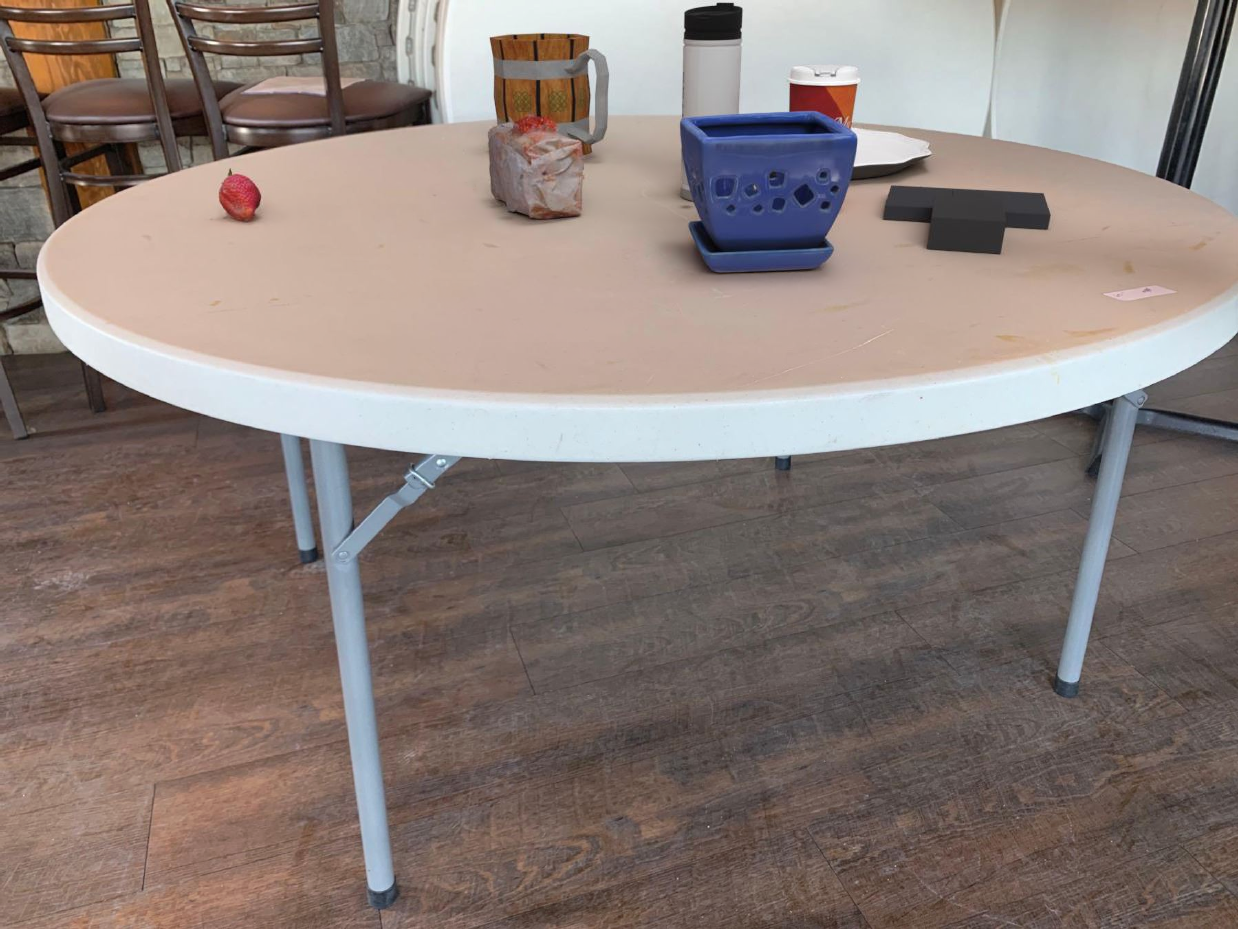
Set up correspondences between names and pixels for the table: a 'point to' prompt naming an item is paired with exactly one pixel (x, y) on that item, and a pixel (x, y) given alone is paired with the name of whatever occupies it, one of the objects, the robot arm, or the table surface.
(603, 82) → the mug
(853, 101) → the paper cup
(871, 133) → the plate
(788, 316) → the table surface
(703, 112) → the travel mug
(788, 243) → the flower pot
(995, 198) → the black block
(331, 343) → the table surface
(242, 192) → the fruit
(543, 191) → the wrapped gift box
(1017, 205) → the charcoal pad
